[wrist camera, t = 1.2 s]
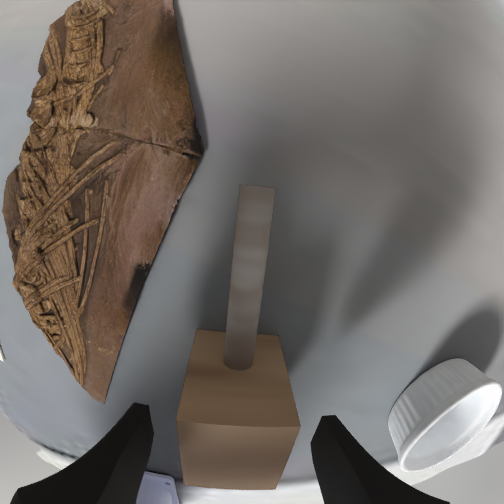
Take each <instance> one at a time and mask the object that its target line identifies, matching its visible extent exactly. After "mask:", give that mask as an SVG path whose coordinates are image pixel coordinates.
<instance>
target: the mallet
mask: <svg viewBox="0 0 504 504" xmlns="http://www.w3.org/2000/svg"><path fill="white" fill-rule="evenodd" d="M275 191H276V189H275V188H269V187H262V186H253V185H240V190H239V200H238V209H237V219H236V229H235V238H234V249H233V259H232V269H231V280H230V291H229V302H228V313H227V325H226V332H221V331H211V330H201V329H197V330H196V334H195V338H194V342H193V346H192V351H191V355H190V359H189V364H188V368H187V372H186V377H185V381H184V386H183V390H182V395H181V399H180V404H179V409H178V413H177V418H176V424H177V434H178V443H179V452H180V460H181V468H182V475H183V482H184V485H187V486H196V487H205V488H217V489H236V490H273V489H276V487H277V485H278V482H279V480H280V478H281V475H282V473H283V471H284V468H285V466H286V463H287V461H288V458H289V456H290V453H291V451H292V448H293V446H294V443H295V441H296V438H297V435H298V432H299V430H300V427H301V425H300V421H299V417H298V413H297V409H296V405H295V401H294V397H293V393H292V389H291V385H290V380H289V376H288V372H287V368H286V364H285V360H284V356H283V352H282V348H281V344H280V340H279V336H278V335H260V334H257V329H258V322H259V314H260V307H261V300H262V293H263V285H264V278H265V270H266V263H267V255H268V247H269V239H270V232H271V224H272V216H273V208H274V199H275Z"/></svg>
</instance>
